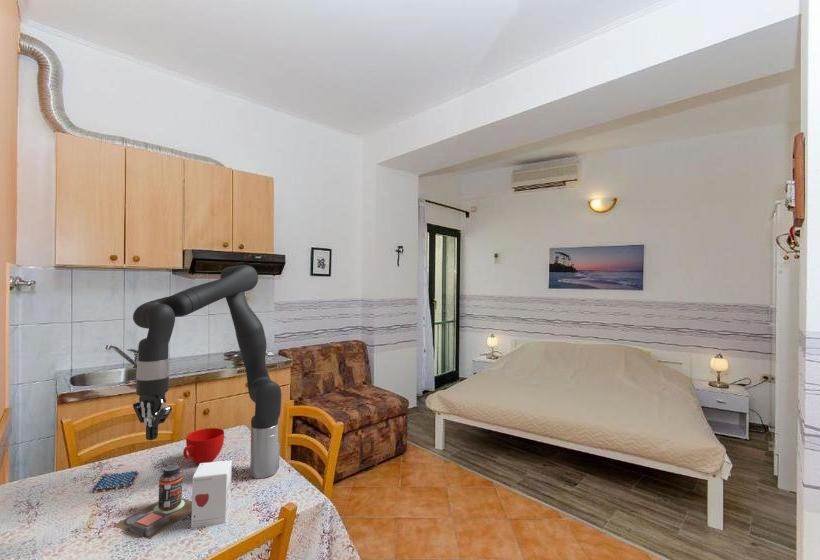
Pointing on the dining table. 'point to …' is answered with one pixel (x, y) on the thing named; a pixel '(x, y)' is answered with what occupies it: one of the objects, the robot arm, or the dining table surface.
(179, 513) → the brown tray
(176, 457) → the dining table surface
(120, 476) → the woven mat
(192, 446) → the ceramic cup
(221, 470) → the supplement box
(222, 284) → the robot arm
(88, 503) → the dining table surface
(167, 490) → the supplement bottle
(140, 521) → the button
